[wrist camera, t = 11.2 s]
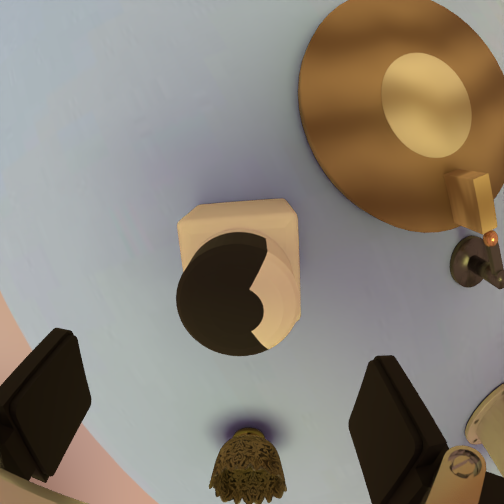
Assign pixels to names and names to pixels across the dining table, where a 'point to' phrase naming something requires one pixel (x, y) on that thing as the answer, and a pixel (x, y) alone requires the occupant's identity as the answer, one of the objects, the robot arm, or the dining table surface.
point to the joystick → (478, 261)
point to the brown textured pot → (248, 469)
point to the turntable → (406, 114)
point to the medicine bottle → (239, 275)
